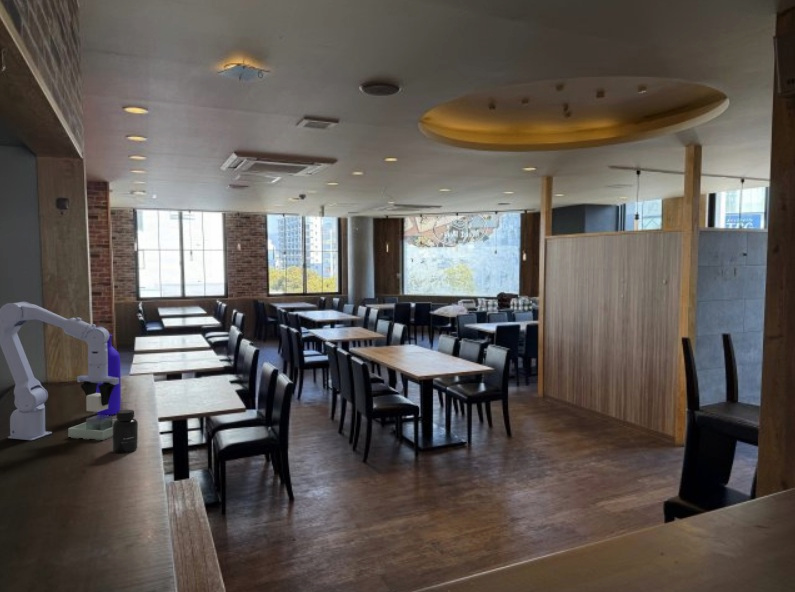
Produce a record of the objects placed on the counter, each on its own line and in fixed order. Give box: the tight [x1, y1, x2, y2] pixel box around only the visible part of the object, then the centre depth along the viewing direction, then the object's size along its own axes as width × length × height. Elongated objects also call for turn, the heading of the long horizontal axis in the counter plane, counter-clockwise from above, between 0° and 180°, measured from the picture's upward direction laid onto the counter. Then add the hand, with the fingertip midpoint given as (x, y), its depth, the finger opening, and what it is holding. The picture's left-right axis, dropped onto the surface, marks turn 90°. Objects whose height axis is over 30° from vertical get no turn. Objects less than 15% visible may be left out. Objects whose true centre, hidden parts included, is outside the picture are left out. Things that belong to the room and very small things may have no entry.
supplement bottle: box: [112, 409, 139, 454], centre depth 168 cm, size 7×7×12 cm
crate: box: [67, 418, 117, 441], centre depth 184 cm, size 13×13×3 cm
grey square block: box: [85, 414, 113, 431], centre depth 184 cm, size 6×6×5 cm
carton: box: [85, 393, 108, 413], centre depth 183 cm, size 4×4×5 cm
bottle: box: [96, 334, 122, 416], centre depth 209 cm, size 8×8×30 cm
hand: (98, 404), depth 183 cm, fingers closed on carton, 4 cm apart
